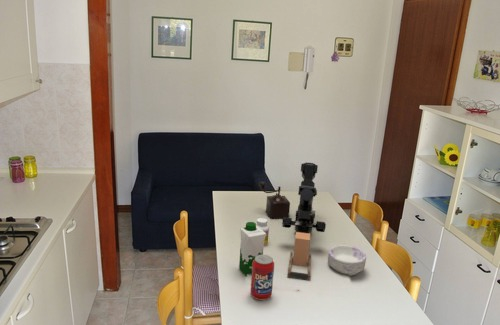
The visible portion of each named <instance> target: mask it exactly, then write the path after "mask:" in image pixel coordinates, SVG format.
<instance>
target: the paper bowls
mask: <svg viewBox="0 0 500 325" xmlns="http://www.w3.org/2000/svg"><path fill="white" fill-rule="evenodd" d="M366 255H367V254H366V253H365V252H364V251H363V250H361V249H360V248H359V247H356V246H354V245H353V246H352V245H348V244H347V245H345V244H338V245H334V246H332V247H330V248H329V250H328V255H327V263H328V265H329V266H330V267H331V268H333V270H335V271H336V272H339V273H341V274H345V275H349V277H351V276H354V275H357V274H358V273H359V272H360V273H361V272H362V271H363V270H365V267H366V264H367V263H366V261H367V256H366Z"/></svg>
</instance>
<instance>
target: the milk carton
mask: <svg viewBox="0 0 500 325" xmlns="http://www.w3.org/2000/svg"><path fill="white" fill-rule="evenodd" d="M256 224H257V222H253V221H249V222H248V221H247V222H246V223H245V227H242V228H241V227H240V249H239V260H238V261H239V262H238V263H239V265H238V269H239V270H240V272H241V273H243V275H244V276H245V277H248V275H252V263H253V260H254V259H255V257H256V256H257V255H264V247H265V246H264V240H265V237H266V233H265V232H264V231H263V230H262V229H260V228H259V227H258V226H256Z"/></svg>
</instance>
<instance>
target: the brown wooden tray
mask: <svg viewBox="0 0 500 325" xmlns="http://www.w3.org/2000/svg"><path fill="white" fill-rule="evenodd" d="M293 254H294V251H290V254H289V263H288V268H287V275H286V276H287V278H288V279H295V280H301V281H303V280H304V281H309V282H310V281H311V276H312V274H311V269H312V253H308V262H307V273H304V272H297V271H291V270H292V265H293Z"/></svg>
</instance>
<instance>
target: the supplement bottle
mask: <svg viewBox="0 0 500 325" xmlns="http://www.w3.org/2000/svg"><path fill="white" fill-rule="evenodd" d="M256 226H258V227H259V228H260V229H262V230H263V231H264V232H265V233H266V237H265V240H264V247H266V246H268V244H269V234H270V233H269V232H270V226H269V225H268V219H266V218H264V217H260V218H259V217H258V218H257V219H256Z"/></svg>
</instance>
